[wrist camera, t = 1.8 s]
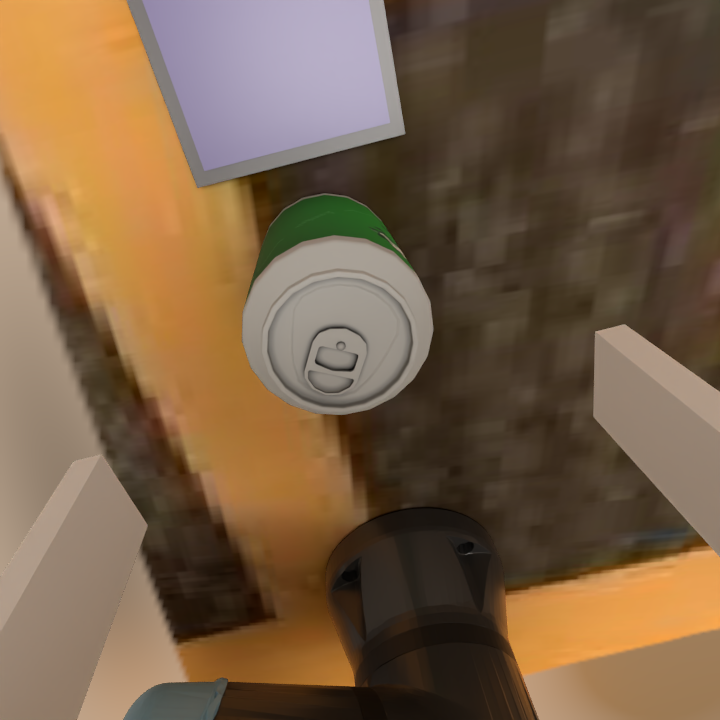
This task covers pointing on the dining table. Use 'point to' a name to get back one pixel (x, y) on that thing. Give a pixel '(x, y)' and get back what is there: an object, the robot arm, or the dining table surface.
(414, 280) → the soda can
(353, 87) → the ink pad
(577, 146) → the dining table surface
